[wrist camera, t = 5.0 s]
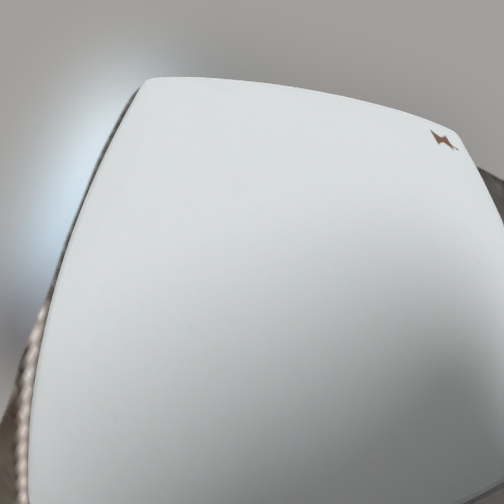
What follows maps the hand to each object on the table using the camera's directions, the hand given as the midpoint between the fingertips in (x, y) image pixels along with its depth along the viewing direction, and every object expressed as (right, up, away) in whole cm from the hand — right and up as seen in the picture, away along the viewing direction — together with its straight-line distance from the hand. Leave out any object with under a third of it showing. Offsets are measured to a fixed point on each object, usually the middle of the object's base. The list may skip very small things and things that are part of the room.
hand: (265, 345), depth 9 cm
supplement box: (-1, -4, +6) cm, 7 cm away
